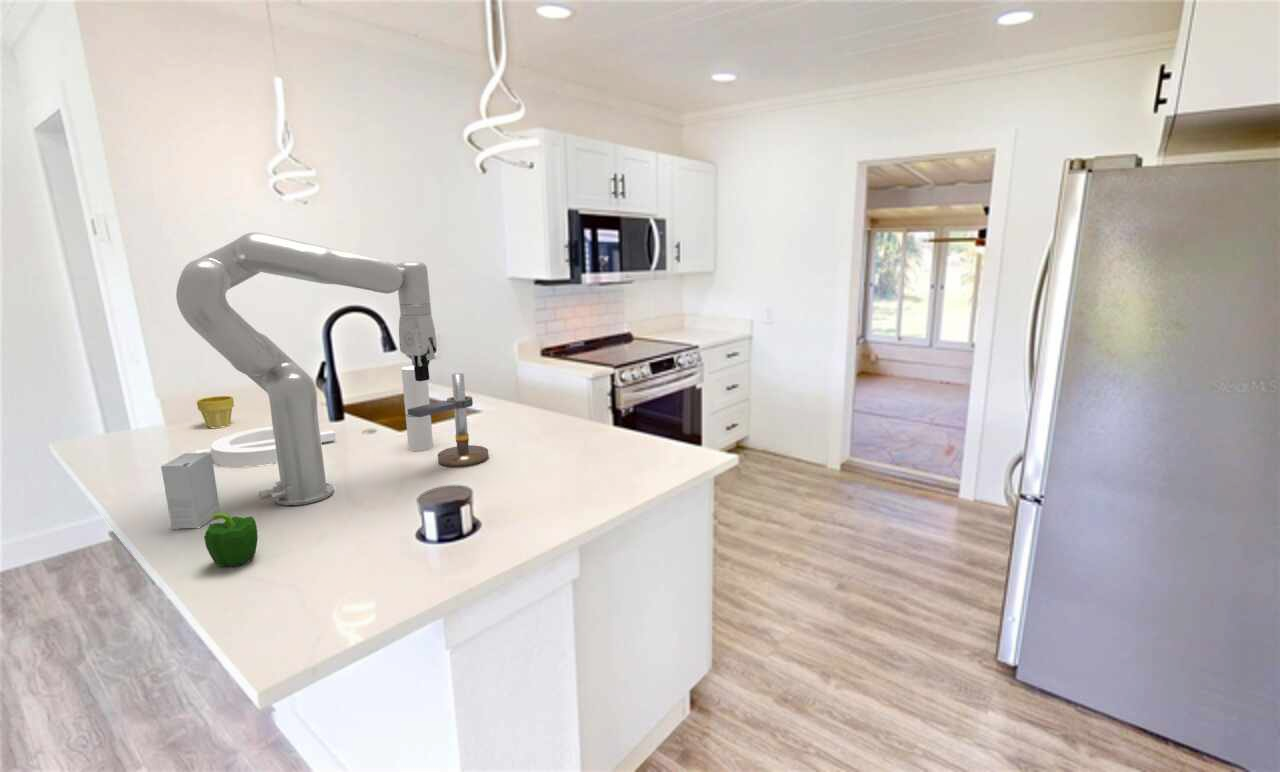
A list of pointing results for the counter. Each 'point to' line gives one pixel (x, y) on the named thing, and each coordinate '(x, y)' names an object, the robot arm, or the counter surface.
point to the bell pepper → (231, 540)
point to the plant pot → (216, 410)
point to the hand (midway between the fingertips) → (422, 380)
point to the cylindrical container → (414, 397)
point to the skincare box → (190, 490)
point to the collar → (440, 407)
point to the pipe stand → (461, 435)
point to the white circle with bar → (250, 448)
